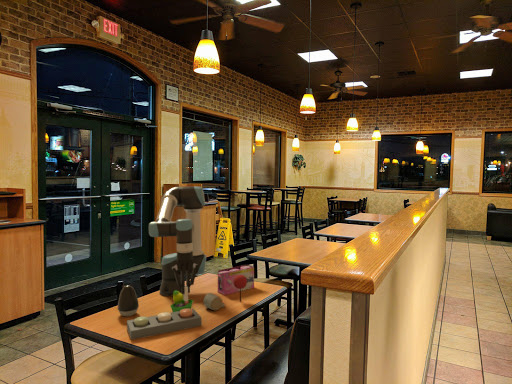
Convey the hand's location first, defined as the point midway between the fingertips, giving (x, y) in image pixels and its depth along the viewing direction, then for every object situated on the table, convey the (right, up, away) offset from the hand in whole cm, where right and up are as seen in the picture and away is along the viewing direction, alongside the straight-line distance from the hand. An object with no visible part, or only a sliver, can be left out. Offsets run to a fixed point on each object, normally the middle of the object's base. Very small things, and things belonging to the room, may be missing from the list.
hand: (185, 300), depth 176 cm
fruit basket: (-5, -11, +15) cm, 19 cm away
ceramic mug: (+12, -11, +20) cm, 26 cm away
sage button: (-19, -9, -9) cm, 22 cm away
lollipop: (+25, -10, +30) cm, 40 cm away
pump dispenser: (-32, -12, +13) cm, 36 cm away
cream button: (-9, -8, -4) cm, 13 cm away
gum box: (+22, -9, +51) cm, 56 cm away
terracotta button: (0, -8, +1) cm, 8 cm away
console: (-9, -12, -4) cm, 15 cm away
